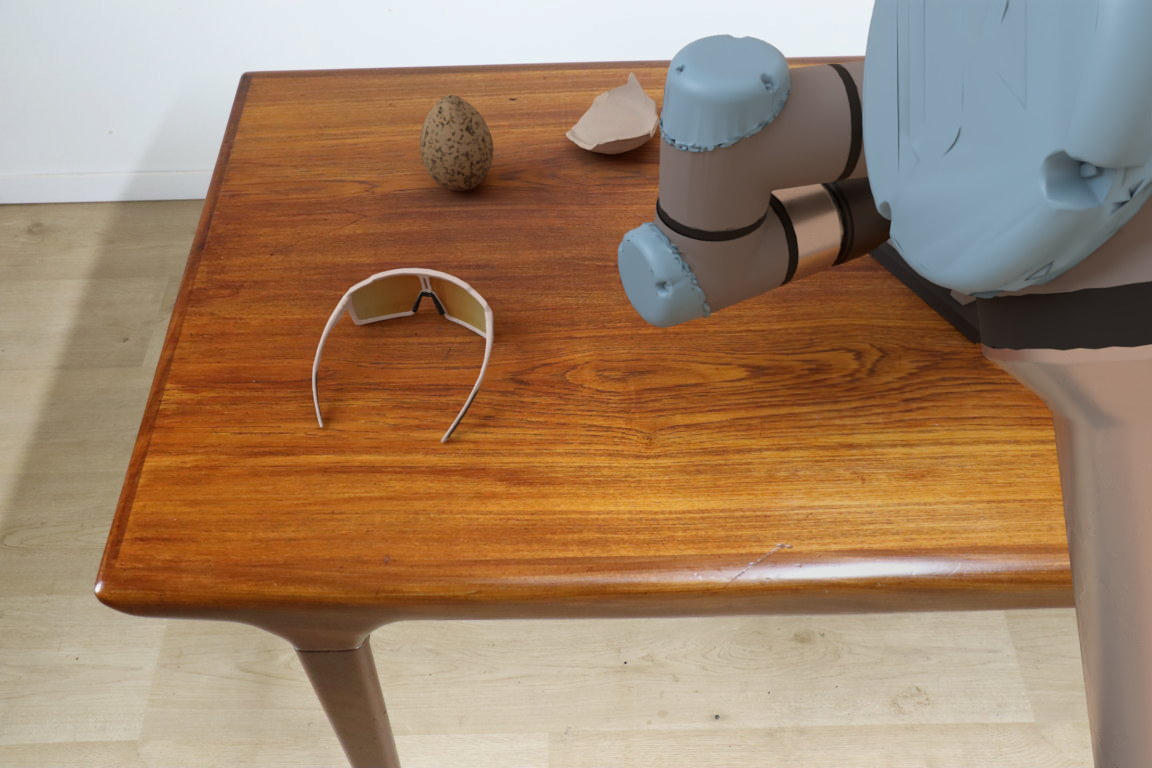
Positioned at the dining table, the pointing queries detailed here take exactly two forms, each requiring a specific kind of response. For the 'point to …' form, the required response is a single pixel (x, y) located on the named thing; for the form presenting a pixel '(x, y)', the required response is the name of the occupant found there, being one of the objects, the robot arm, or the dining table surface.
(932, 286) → the base pad
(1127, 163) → the robot arm
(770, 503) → the dining table surface
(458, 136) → the decorative egg
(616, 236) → the dining table surface
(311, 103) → the dining table surface
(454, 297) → the sunglasses
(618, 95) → the pottery shard
